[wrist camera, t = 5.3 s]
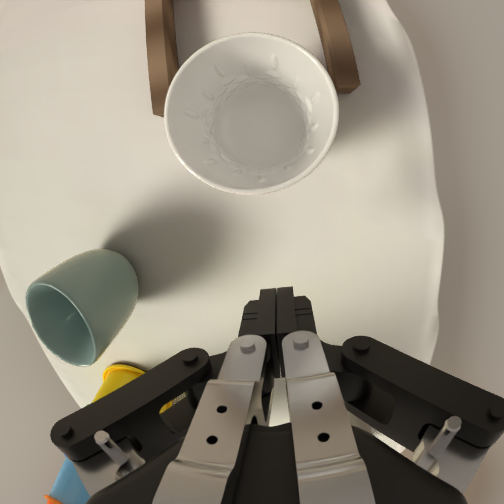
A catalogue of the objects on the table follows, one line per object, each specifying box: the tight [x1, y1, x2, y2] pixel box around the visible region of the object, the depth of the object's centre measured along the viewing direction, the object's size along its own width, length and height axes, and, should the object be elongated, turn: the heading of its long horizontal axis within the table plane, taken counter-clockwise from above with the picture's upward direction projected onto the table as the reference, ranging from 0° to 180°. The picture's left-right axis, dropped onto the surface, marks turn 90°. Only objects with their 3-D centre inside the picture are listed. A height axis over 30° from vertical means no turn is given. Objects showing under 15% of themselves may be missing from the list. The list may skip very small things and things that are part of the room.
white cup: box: [164, 32, 339, 195], centre depth 15 cm, size 8×8×10 cm
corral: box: [145, 0, 361, 117], centre depth 16 cm, size 15×15×3 cm
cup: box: [26, 249, 139, 367], centre depth 21 cm, size 8×8×10 cm
